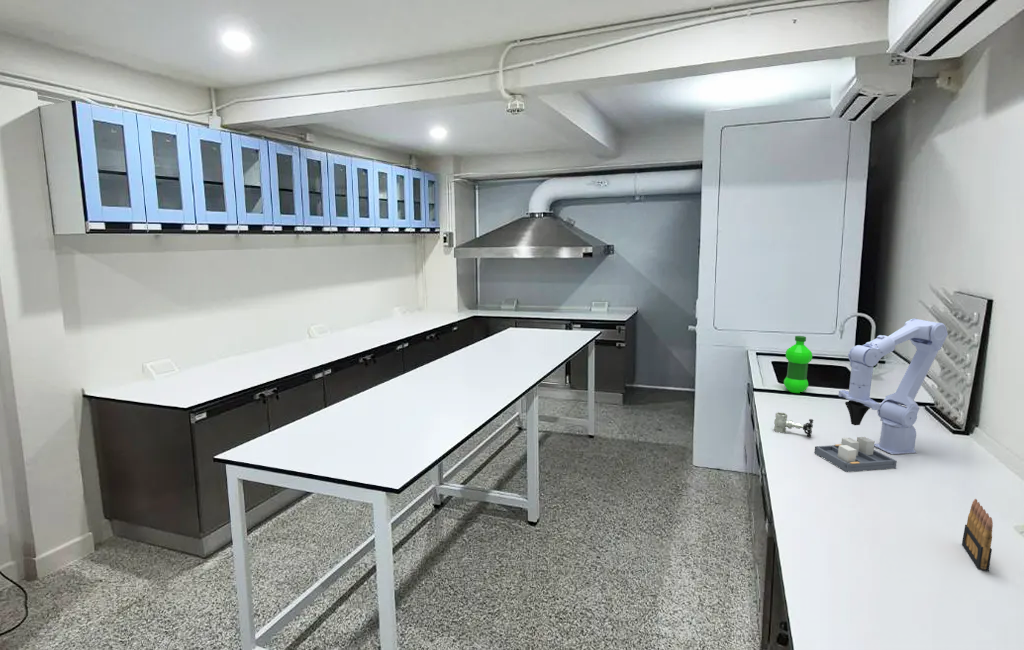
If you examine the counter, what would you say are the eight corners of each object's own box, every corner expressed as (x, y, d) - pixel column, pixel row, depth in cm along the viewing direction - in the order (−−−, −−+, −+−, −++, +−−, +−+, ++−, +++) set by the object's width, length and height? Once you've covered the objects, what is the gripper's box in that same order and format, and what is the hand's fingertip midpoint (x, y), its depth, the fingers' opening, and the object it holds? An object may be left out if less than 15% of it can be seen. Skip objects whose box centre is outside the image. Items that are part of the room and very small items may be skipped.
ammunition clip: (961, 543, 130) (969, 496, 127) (971, 545, 129) (979, 497, 127) (977, 569, 120) (986, 518, 118) (988, 571, 119) (997, 520, 117)
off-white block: (848, 450, 179) (849, 437, 179) (857, 455, 176) (859, 442, 175) (840, 451, 179) (842, 438, 178) (849, 456, 175) (851, 442, 174)
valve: (771, 432, 199) (809, 440, 192) (773, 415, 198) (811, 422, 191) (775, 427, 204) (811, 434, 197) (776, 410, 203) (813, 416, 196)
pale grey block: (863, 449, 180) (864, 436, 180) (872, 454, 176) (874, 441, 176) (855, 450, 180) (857, 437, 179) (865, 455, 176) (866, 441, 175)
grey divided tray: (860, 450, 184) (861, 442, 183) (895, 468, 170) (896, 460, 169) (814, 453, 181) (815, 445, 180) (846, 472, 167) (847, 463, 167)
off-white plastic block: (845, 458, 173) (846, 444, 173) (855, 463, 170) (856, 450, 169) (837, 459, 173) (838, 445, 172) (846, 464, 169) (848, 450, 168)
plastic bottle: (807, 396, 242) (813, 340, 237) (780, 392, 247) (785, 337, 243) (809, 390, 250) (815, 336, 246) (783, 386, 256) (788, 333, 251)
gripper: (832, 377, 182) (827, 417, 184) (867, 390, 168) (862, 433, 170) (850, 376, 183) (846, 416, 186) (887, 389, 169) (882, 431, 172)
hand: (855, 424), depth 178 cm, fingers closed
